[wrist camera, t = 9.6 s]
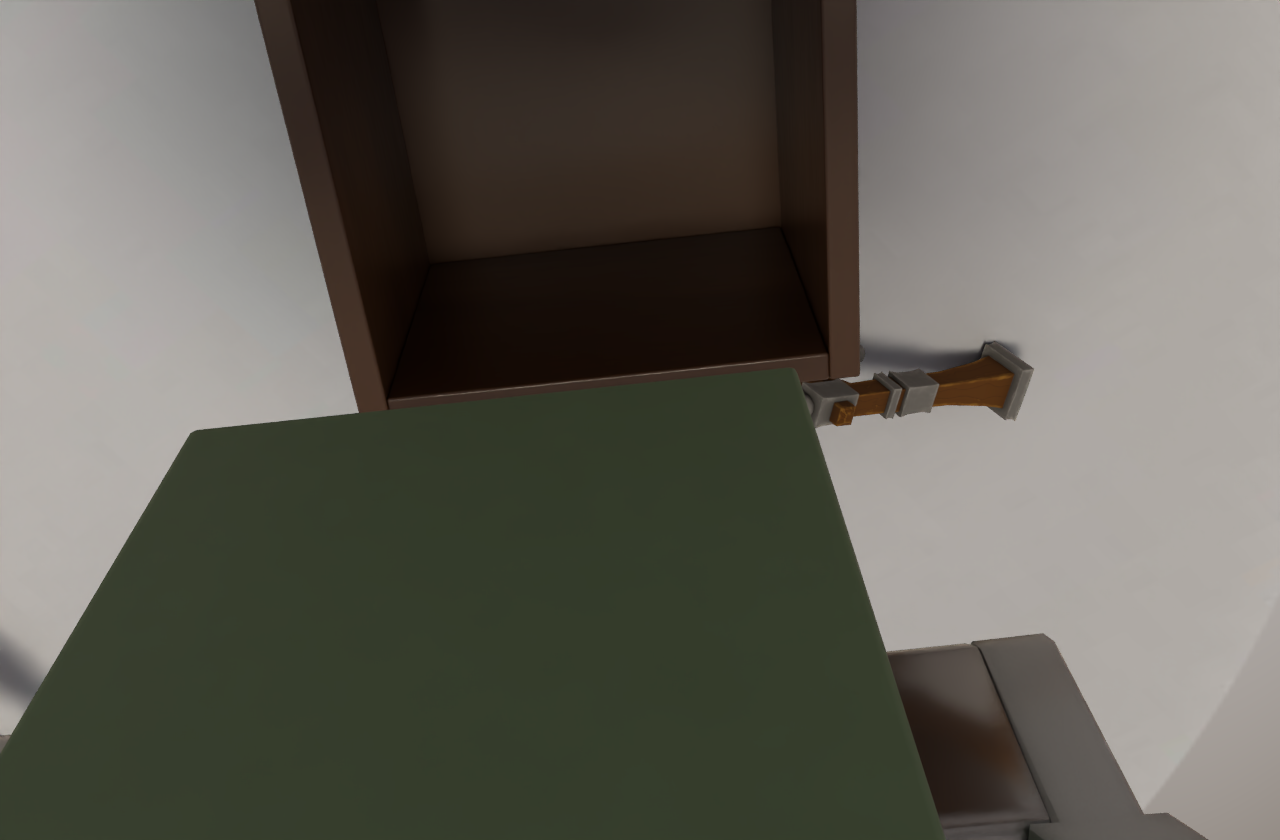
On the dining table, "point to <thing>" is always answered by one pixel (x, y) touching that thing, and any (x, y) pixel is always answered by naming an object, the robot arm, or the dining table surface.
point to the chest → (575, 188)
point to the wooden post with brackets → (923, 390)
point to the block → (483, 636)
